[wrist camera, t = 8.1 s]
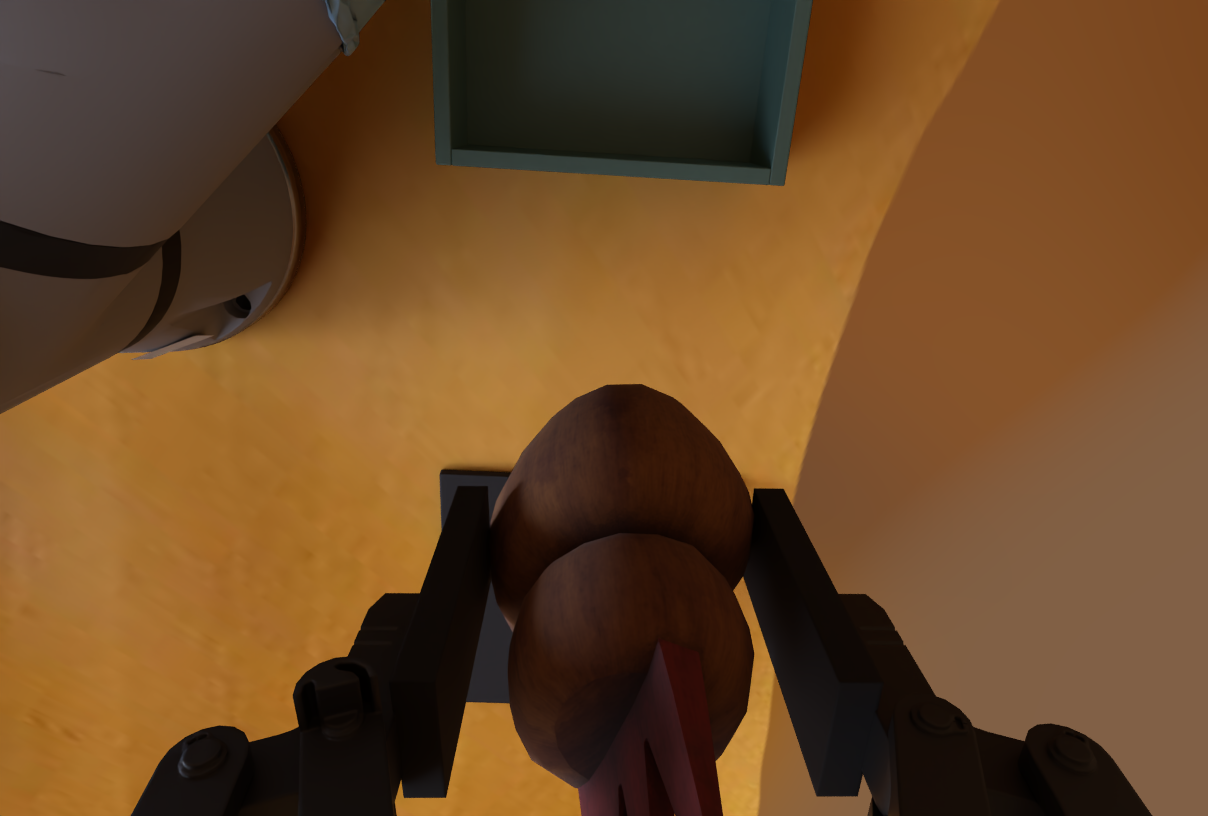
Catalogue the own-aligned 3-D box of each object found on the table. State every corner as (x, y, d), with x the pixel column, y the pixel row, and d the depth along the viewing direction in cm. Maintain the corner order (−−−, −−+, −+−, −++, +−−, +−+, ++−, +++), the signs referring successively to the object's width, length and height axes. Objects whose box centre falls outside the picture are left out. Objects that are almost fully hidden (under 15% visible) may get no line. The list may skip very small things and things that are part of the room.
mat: (449, 695, 49) (447, 701, 48) (441, 469, 42) (439, 473, 41) (702, 702, 50) (704, 709, 49) (736, 481, 43) (738, 486, 42)
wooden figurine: (624, 315, 21) (698, 722, 7) (750, 438, 22) (1016, 965, 8) (475, 461, 22) (293, 1019, 9) (602, 565, 24) (621, 1171, 10)
